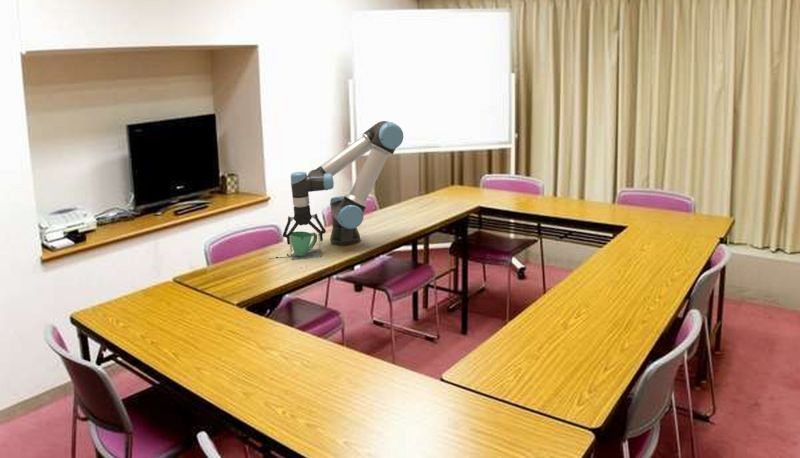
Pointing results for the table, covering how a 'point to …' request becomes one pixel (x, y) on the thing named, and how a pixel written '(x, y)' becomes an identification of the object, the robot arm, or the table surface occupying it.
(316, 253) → the slate mat
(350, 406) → the table surface
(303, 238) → the mug
